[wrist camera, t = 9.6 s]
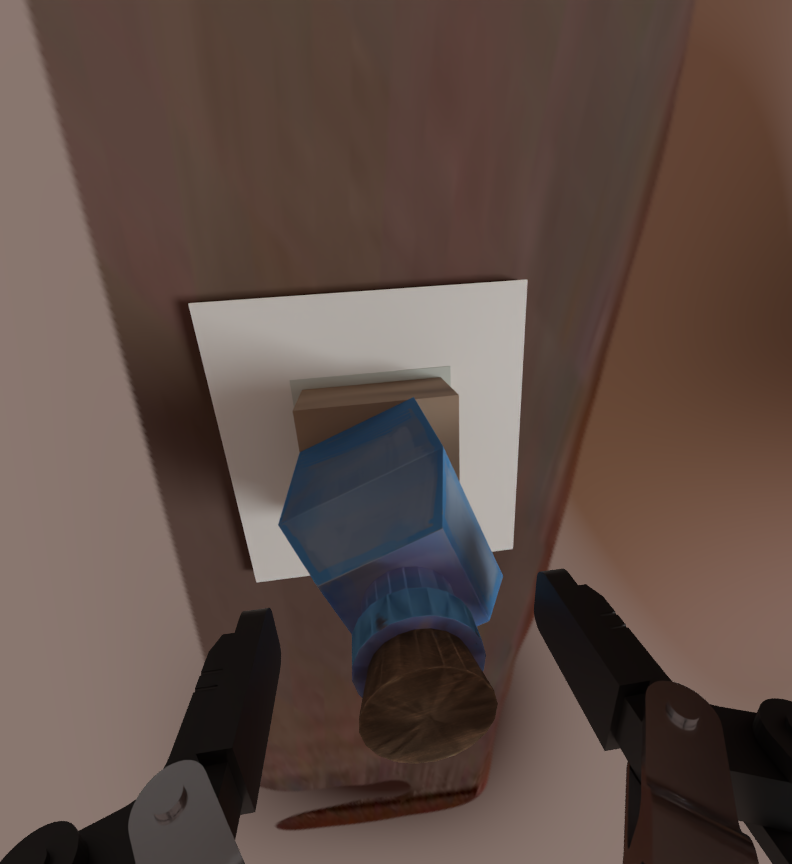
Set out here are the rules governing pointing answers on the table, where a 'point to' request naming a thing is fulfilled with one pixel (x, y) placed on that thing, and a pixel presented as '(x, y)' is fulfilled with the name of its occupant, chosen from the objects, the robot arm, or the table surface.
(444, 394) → the walnut block
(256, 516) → the build board
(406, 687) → the perfume bottle
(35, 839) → the robot arm
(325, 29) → the table surface
